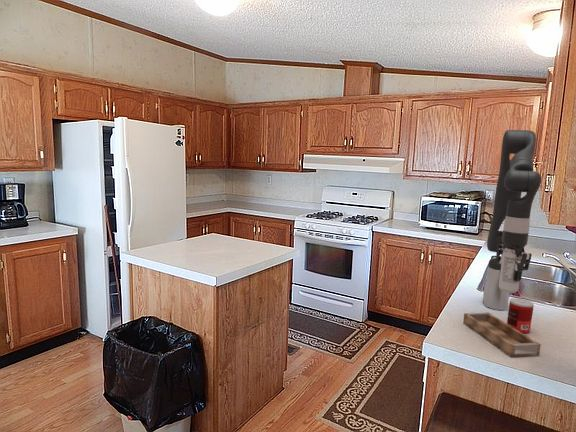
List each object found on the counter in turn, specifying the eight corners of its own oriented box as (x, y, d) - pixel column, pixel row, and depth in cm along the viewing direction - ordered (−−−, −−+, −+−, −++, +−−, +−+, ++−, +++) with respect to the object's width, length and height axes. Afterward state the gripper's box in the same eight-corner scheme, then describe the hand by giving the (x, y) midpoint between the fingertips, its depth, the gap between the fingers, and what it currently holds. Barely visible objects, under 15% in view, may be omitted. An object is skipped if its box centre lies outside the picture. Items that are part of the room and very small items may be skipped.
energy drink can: (518, 290, 138) (524, 248, 136) (517, 295, 133) (523, 251, 131) (499, 286, 142) (504, 245, 139) (497, 291, 137) (502, 248, 134)
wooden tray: (463, 323, 154) (464, 313, 153) (487, 322, 156) (488, 312, 155) (510, 357, 129) (512, 345, 128) (539, 355, 131) (540, 344, 130)
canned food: (532, 329, 150) (536, 302, 149) (526, 336, 145) (530, 307, 143) (510, 323, 156) (514, 296, 154) (503, 328, 150) (507, 301, 148)
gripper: (542, 234, 128) (535, 284, 130) (510, 226, 142) (504, 271, 144) (521, 234, 126) (515, 285, 129) (491, 226, 140) (486, 271, 143)
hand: (509, 277), depth 137 cm, fingers closed on energy drink can, 6 cm apart
